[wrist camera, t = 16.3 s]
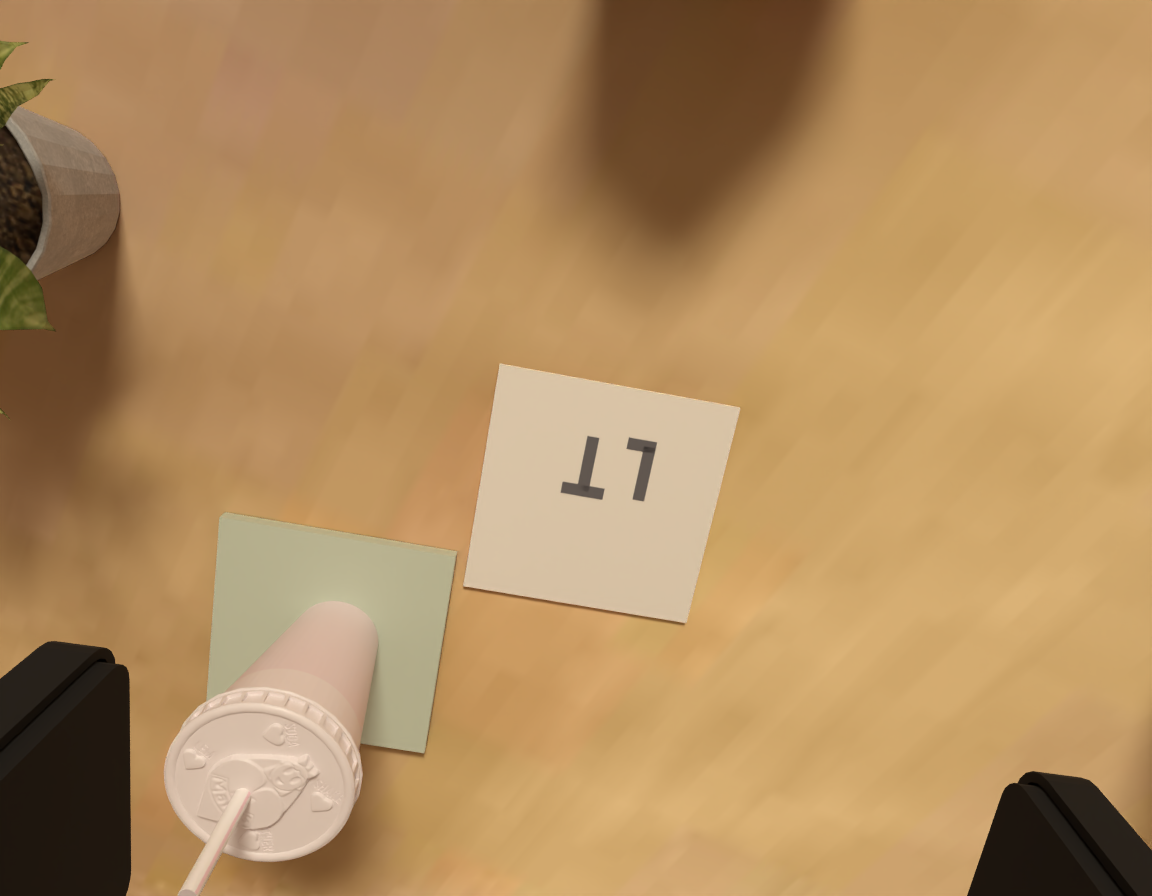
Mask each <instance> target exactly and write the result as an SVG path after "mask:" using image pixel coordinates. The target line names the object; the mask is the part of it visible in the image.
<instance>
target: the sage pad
mask: <svg viewBox="0 0 1152 896" xmlns="http://www.w3.org/2000/svg"><path fill="white" fill-rule="evenodd" d="M456 557H457V551H453V550H447V549H441V548H435V547H429V546H423V545H418V544H412V543H406V542H400V541H394V540H388V539H382V538H376V537H370V536H364V535H358V534H352V533H346V532H340V531H334V530H328V529H323V528H317V527H311V526H305V525H299V524H293V523H287V522H281V521H275V520H269V519H263V518H257V517H251V516H245V515H239V514H233V513H228V512H225V513H224V514H222V515H221V516H220V518H219V532H218V546H217V560H216V574H215V588H214V602H213V616H212V630H211V644H210V658H209V672H208V686H207V701H208V700H210V699H211V698H213V697H214V696H216V695H218V694H221V693H224V692H225V691H226V690H227V689H228V688H229V687H230V686H231V685H232V684H234V682H235V681H236V680H237V679H238V678H239V677H240V676H241V675H242V674H243V673H244V672H245V671H246V670H247V669H248V668H249V667H250V666H251V665H252V664H253V663H254V662H255V661H256V660H257V659H258V658H259V657H260V656H261V655H262V654H263V653H264V652H265V651H266V650H267V649H268V648H269V647H270V646H271V645H272V644H273V643H274V642H275V641H276V640H277V639H278V638H279V637H280V636H281V635H282V634H283V633H284V632H285V631H286V630H287V629H288V628H289V627H290V626H291V625H292V624H293V623H294V622H295V621H296V620H297V619H298V618H299V617H300V616H301V615H302V614H303V613H304V612H305V611H306V610H307V609H308V608H310V607H312V606H313V605H315V604H318V603H321V602H326V601H340V602H345V603H349V604H351V605H354V606H356V607H357V608H359V609H361V610H362V611H363V612H364V613H366V614H367V615H368V616H369V618H370V619H371V620H372V622H373V623H374V625H375V627H376V630H377V633H378V649H377V655H376V660H375V666H374V671H373V676H372V682H371V687H370V693H369V698H368V703H367V709H366V714H365V720H364V725H363V730H362V736H361V741H360V743H361V744H367V745H374V746H380V747H387V748H393V749H400V750H406V751H413V752H419V753H425V749H426V745H427V738H428V732H429V726H430V720H431V713H432V707H433V701H434V695H435V688H436V682H437V676H438V670H439V663H440V657H441V651H442V645H443V638H444V632H445V626H446V620H447V613H448V607H449V601H450V595H451V588H452V582H453V576H454V570H455V563H456Z"/></svg>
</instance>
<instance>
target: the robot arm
mask: <svg viewBox="0 0 1152 896" xmlns="http://www.w3.org/2000/svg"><path fill="white" fill-rule="evenodd" d="M130 876H131V813H130V693H129V672H128V670H127V668H126V667H125V666H124V665H120V664H115V658H114V656H113V654H112V651H110V650H109V649H107V648H102V647H95V646H87V645H80V644H72V643H65V642H57V641H51V642H47V643H45V644H43V645H42V646H40V647H39V648H37V649H36V650H35V651H34V652H32V653H31V654H30V655H29V656H28V657H26V658H25V659H24V660H23V661H22V662H20V663H19V664H18V665H17V666H15V667H14V668H13V669H12V670H11V671H9V672H8V673H7V674H6V675H4V676H3V677H2V678H1V679H0V896H126V893H127V890H128V887H129V882H130ZM967 896H1152V850H1151V849H1150V848H1149V847H1148V846H1147V844H1146V843H1145V842H1144V841H1143V840H1142V839H1141V837H1140V836H1139V835H1138V834H1137V833H1136V832H1135V831H1134V829H1133V828H1132V827H1131V826H1130V825H1129V824H1128V822H1127V821H1126V820H1125V819H1124V818H1123V817H1122V815H1121V814H1120V813H1119V812H1118V811H1117V810H1116V808H1115V807H1114V806H1113V805H1112V804H1111V803H1110V802H1109V800H1108V799H1107V798H1106V797H1105V796H1104V795H1103V793H1102V792H1101V791H1100V790H1099V789H1098V788H1097V787H1096V786H1095V785H1094V784H1093V783H1092V782H1091V781H1089V780H1087V779H1083V778H1079V777H1072V776H1064V775H1057V774H1049V773H1042V772H1034V771H1032V772H1028V773H1025V774H1024V775H1023V776H1022V777H1021V778H1020V780H1019V782H1018V783H1013V784H1009V785H1008V786H1007V787H1006V788H1005V789H1004V791H1003V793H1002V796H1001V799H1000V802H999V805H998V807H997V810H996V813H995V816H994V819H993V822H992V825H991V828H990V831H989V834H988V837H987V839H986V842H985V845H984V848H983V851H982V854H981V857H980V860H979V863H978V866H977V869H976V872H975V874H974V877H973V880H972V883H971V886H970V889H969V892H968V895H967Z"/></svg>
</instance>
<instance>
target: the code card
mask: <svg viewBox="0 0 1152 896" xmlns="http://www.w3.org/2000/svg"><path fill="white" fill-rule="evenodd" d="M739 412H740V407H736V406H730V405H725V404H720V403H714V402H709V401H703V400H698V399H692V398H687V397H681V396H676V395H670V394H665V393H659V392H654V391H648V390H643V389H637V388H632V387H626V386H621V385H616V384H610V383H605V382H599V381H594V380H588V379H583V378H577V377H572V376H566V375H561V374H555V373H550V372H544V371H539V370H533V369H528V368H522V367H517V366H512V365H506V364H501V363H500V365H499V372H498V378H497V384H496V390H495V396H494V402H493V408H492V414H491V420H490V426H489V432H488V438H487V445H486V451H485V457H484V463H483V469H482V475H481V481H480V487H479V493H478V499H477V505H476V512H475V518H474V524H473V530H472V536H471V542H470V548H469V554H468V560H467V566H466V572H465V579H464V585H463V586H466V587H472V588H478V589H484V590H490V591H496V592H502V593H508V594H514V595H520V596H526V597H532V598H538V599H544V600H550V601H556V602H562V603H568V604H574V605H580V606H586V607H592V608H598V609H604V610H610V611H616V612H622V613H628V614H634V615H640V616H646V617H653V618H659V619H665V620H671V621H677V622H683V623H686V622H687V618H688V614H689V610H690V606H691V602H692V598H693V595H694V591H695V587H696V583H697V579H698V575H699V571H700V567H701V563H702V559H703V555H704V551H705V547H706V543H707V539H708V535H709V531H710V527H711V523H712V519H713V515H714V511H715V507H716V503H717V499H718V495H719V491H720V487H721V483H722V479H723V475H724V471H725V467H726V463H727V459H728V455H729V451H730V447H731V443H732V439H733V435H734V431H735V427H736V423H737V419H738V415H739Z"/></svg>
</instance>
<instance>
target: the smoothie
mask: <svg viewBox="0 0 1152 896" xmlns="http://www.w3.org/2000/svg"><path fill="white" fill-rule="evenodd" d="M377 649H378V633H377V630H376V627H375V625H374V623H373V622H372V620H371V619H370V618H369V616H368V615H367V614H366V613H364V612H363V611H362V610H361V609H359V608H357V607H356V606H354V605H351V604H349V603H345V602H340V601H326V602H321V603H318V604H315V605H313V606H312V607H310V608H308V609H307V610H306V611H305V612H304V613H303V614H302V615H301V616H300V617H299V618H298V619H297V620H296V621H295V622H294V623H293V624H292V625H291V626H290V627H289V628H288V629H287V630H286V631H285V632H284V633H283V634H282V635H281V636H280V637H279V638H278V639H277V640H276V641H275V642H274V643H273V644H272V645H271V646H270V647H269V648H268V649H267V650H266V651H265V652H264V653H263V654H262V655H261V656H260V657H259V658H258V659H257V660H256V661H255V662H254V663H253V664H252V665H251V666H250V667H249V668H248V669H247V670H246V671H245V672H244V673H243V674H242V675H241V676H240V677H239V678H238V679H237V680H236V681H235V682H234V684H232V685H231V686H230V687H229V688H228V689H227V690H226V691H225V692H224V693H221V694H218V695H216V696H214V697H213V698H211V699H210V700H208V701H206V702H205V703H203V704H201V705H200V706H198V707H197V708H196V710H195V711H194V712H193V713H192V714H191V715H190V716H189V717H188V718H187V720H186V721H185V722H184V723H183V725H182V728H181V730H180V732H179V733H178V735H177V736H176V738H175V739H174V741H173V742H172V744H171V746H170V748H169V751H168V754H167V757H166V761H165V768H164V781H165V787H166V792H167V795H168V798H169V801H170V803H171V805H172V807H173V809H174V811H175V813H176V814H177V816H178V817H179V819H180V820H181V821H182V822H183V824H184V825H185V826H186V827H187V828H188V829H189V830H190V831H191V832H192V833H193V834H194V835H196V836H197V837H198V838H199V839H201V840H202V841H203V842H205V843H206V845H205V847H204V848H203V850H202V852H201V854H200V856H199V857H198V859H197V861H196V863H195V865H194V866H193V868H192V870H191V872H190V873H189V875H188V877H187V879H186V881H185V882H184V884H183V886H182V888H181V890H180V891H179V893H178V896H200V894H201V892H202V890H203V888H204V886H205V884H206V883H207V881H208V879H209V877H210V875H211V873H212V871H213V869H214V867H215V865H216V864H217V862H218V860H219V858H220V856H221V854H222V852H223V853H226V854H228V855H231V856H234V857H237V858H242V859H246V860H252V861H261V862H277V861H286V860H292V859H296V858H300V857H303V856H305V855H308V854H310V853H312V852H315V851H316V850H318V849H320V848H322V847H323V846H325V845H326V844H327V843H329V842H330V841H331V840H332V839H333V838H334V837H335V836H336V835H337V834H338V833H339V832H340V831H341V829H342V828H343V827H344V825H345V823H346V822H347V820H348V818H349V815H350V813H351V810H352V808H353V806H354V804H355V803H356V801H357V799H358V797H359V795H360V789H361V783H362V777H363V772H362V765H361V758H360V753H359V749H360V741H361V736H362V730H363V725H364V720H365V714H366V709H367V703H368V698H369V693H370V687H371V682H372V676H373V671H374V666H375V660H376V655H377Z"/></svg>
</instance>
